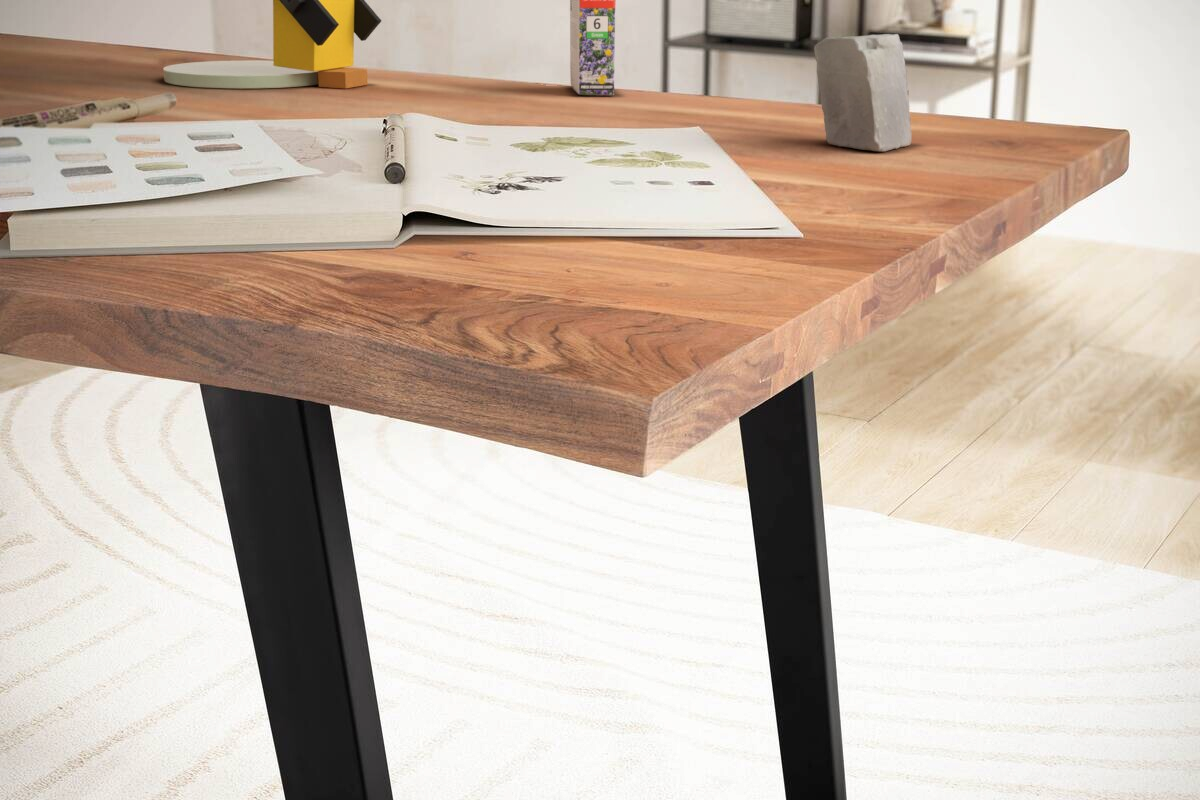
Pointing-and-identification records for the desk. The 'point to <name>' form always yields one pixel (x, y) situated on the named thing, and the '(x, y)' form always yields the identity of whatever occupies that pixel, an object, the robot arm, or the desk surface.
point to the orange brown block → (342, 78)
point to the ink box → (592, 46)
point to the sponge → (299, 47)
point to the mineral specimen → (864, 91)
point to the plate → (237, 75)
